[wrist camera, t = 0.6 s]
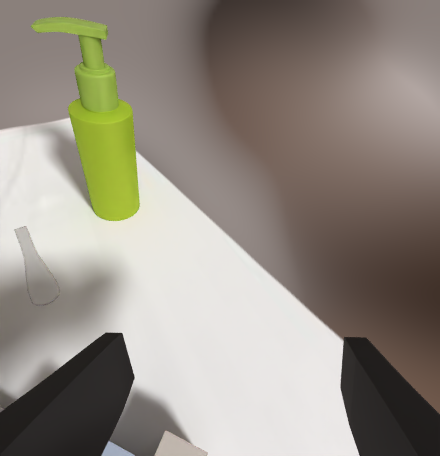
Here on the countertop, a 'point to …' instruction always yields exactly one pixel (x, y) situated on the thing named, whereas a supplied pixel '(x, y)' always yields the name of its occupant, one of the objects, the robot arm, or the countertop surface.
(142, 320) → the countertop surface
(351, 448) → the countertop surface
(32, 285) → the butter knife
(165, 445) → the cabinet
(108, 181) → the soap dispenser
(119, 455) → the carriage
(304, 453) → the countertop surface
